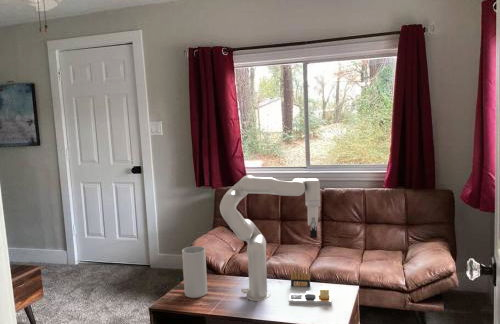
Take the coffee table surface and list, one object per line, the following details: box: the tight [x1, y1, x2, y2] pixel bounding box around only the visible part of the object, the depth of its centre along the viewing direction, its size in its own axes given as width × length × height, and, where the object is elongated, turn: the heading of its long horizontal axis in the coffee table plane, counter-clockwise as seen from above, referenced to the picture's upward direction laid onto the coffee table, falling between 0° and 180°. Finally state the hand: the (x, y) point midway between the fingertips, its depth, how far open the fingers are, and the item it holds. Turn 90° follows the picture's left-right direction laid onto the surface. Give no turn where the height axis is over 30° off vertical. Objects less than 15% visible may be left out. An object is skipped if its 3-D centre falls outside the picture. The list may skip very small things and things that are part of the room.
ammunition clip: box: [290, 266, 311, 288], centre depth 238 cm, size 11×2×12 cm, turn 81°
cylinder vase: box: [181, 245, 208, 299], centre depth 235 cm, size 12×12×25 cm
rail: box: [288, 293, 332, 306], centre depth 219 cm, size 21×8×3 cm, turn 81°
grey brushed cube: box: [305, 290, 315, 300], centre depth 219 cm, size 4×4×4 cm
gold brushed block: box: [319, 285, 330, 300], centre depth 217 cm, size 4×4×7 cm
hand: (313, 235), depth 223 cm, fingers open, 9 cm apart
